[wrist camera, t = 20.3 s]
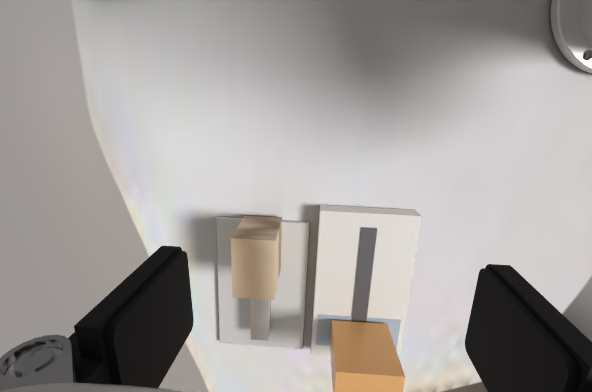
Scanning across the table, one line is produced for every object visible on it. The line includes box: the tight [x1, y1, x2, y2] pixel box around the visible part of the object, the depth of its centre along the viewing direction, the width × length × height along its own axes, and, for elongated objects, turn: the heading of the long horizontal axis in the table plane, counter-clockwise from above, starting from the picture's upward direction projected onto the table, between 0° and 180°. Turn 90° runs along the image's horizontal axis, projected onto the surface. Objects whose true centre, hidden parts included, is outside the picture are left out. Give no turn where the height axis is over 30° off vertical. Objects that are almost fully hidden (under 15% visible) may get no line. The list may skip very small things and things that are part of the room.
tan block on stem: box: [231, 216, 282, 341], centre depth 34 cm, size 4×14×6 cm, turn 178°
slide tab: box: [330, 320, 405, 392], centre depth 32 cm, size 6×3×7 cm, turn 88°
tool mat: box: [216, 217, 309, 349], centre depth 37 cm, size 10×16×1 cm, turn 178°
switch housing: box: [311, 205, 422, 360], centre depth 36 cm, size 10×18×2 cm, turn 178°
